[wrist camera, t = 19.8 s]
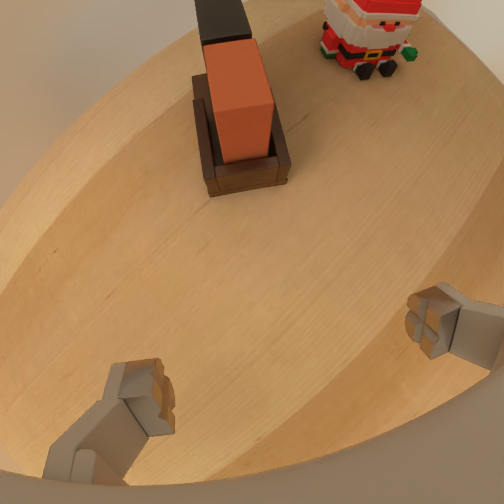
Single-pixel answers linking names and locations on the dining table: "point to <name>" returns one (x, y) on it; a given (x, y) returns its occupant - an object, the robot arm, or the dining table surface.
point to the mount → (214, 171)
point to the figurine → (369, 33)
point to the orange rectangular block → (240, 99)
